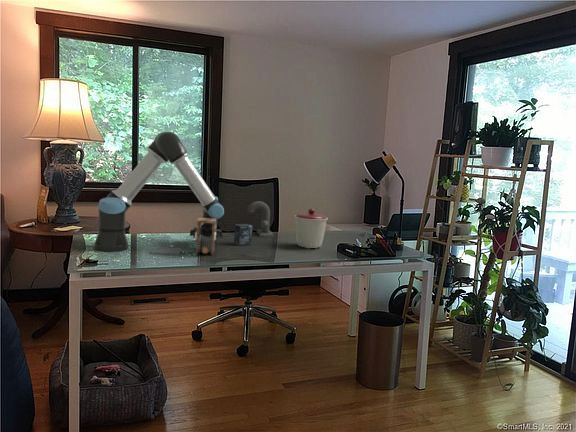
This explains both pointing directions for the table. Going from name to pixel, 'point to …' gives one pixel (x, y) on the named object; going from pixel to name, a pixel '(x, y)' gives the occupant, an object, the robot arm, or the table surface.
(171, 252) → the mat
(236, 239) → the box
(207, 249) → the ball
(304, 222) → the canister
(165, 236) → the table surface
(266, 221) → the faucet
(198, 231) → the wooden open frame
